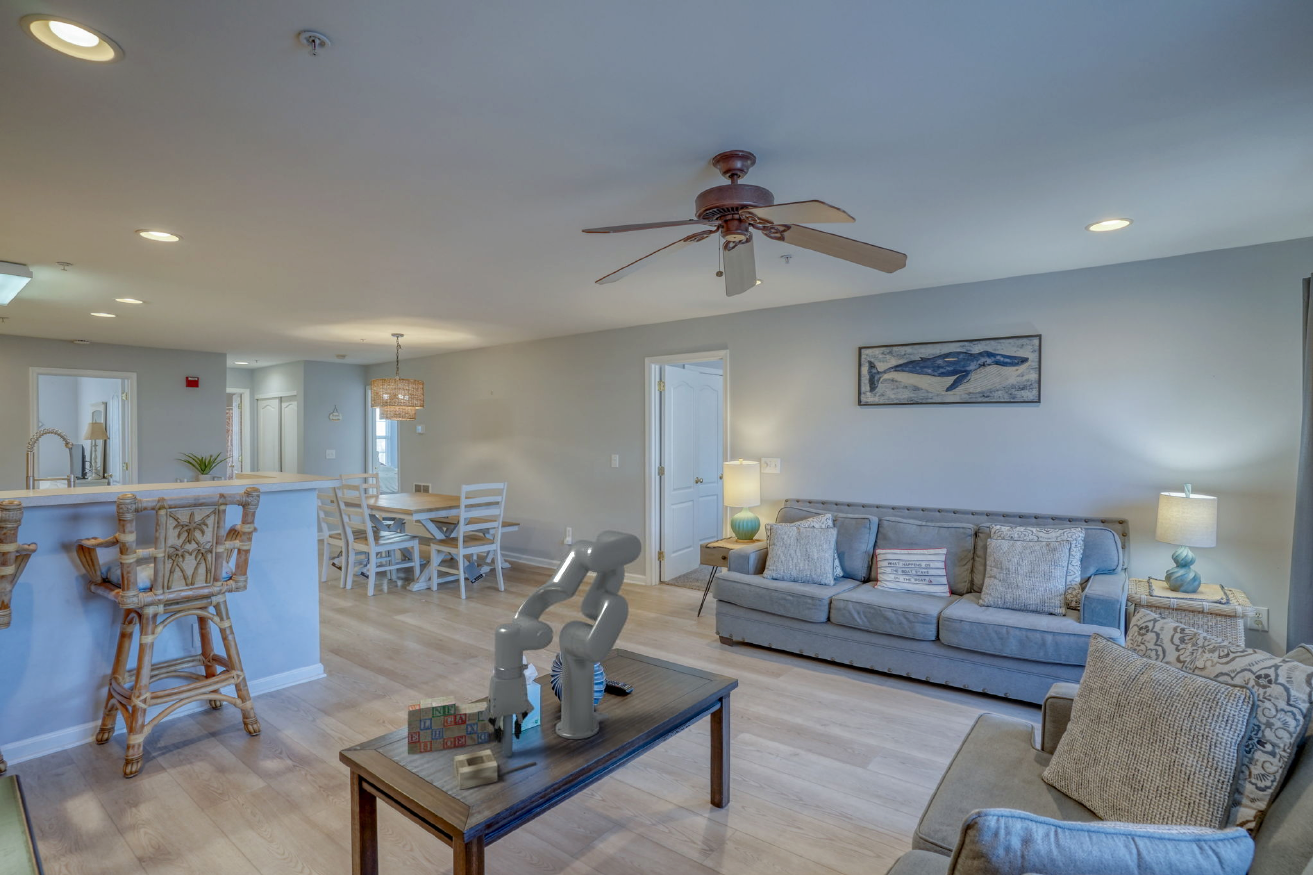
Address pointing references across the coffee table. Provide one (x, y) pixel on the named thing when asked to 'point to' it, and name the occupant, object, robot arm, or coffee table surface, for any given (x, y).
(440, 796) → the coffee table surface
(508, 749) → the grey peg
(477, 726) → the stack of blocks
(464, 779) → the beige hollow block
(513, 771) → the dark brown rod
